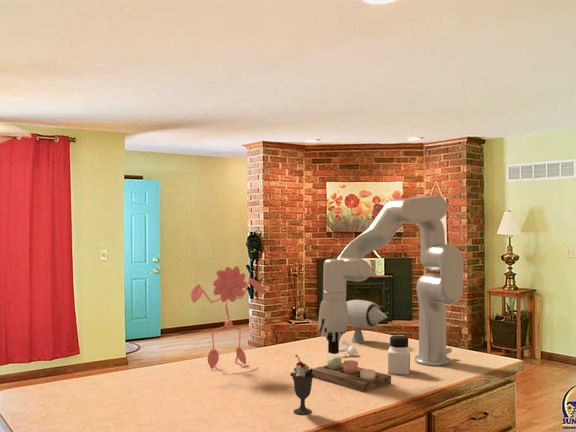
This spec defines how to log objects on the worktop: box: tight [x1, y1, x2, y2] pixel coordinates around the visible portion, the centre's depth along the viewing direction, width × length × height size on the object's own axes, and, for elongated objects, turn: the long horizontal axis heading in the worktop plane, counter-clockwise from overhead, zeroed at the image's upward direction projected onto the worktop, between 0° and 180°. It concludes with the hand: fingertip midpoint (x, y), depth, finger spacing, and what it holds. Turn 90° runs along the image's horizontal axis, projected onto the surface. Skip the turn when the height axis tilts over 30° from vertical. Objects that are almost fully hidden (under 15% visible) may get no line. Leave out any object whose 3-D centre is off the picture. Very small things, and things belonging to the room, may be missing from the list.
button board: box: [312, 362, 392, 393], centre depth 183 cm, size 13×22×3 cm, turn 43°
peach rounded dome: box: [342, 359, 359, 375], centre depth 183 cm, size 5×5×4 cm
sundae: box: [290, 354, 315, 416], centre depth 153 cm, size 7×7×15 cm
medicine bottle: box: [387, 334, 411, 376], centre depth 194 cm, size 7×7×12 cm
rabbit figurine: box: [339, 338, 359, 357], centre depth 216 cm, size 6×4×8 cm
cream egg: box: [360, 368, 376, 380], centre depth 178 cm, size 5×5×4 cm
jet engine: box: [346, 299, 389, 344], centre depth 238 cm, size 15×20×18 cm
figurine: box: [190, 265, 266, 375], centre depth 196 cm, size 15×26×35 cm, turn 115°
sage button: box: [326, 355, 343, 371], centre depth 188 cm, size 5×5×4 cm
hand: (333, 352), depth 188 cm, fingers closed
